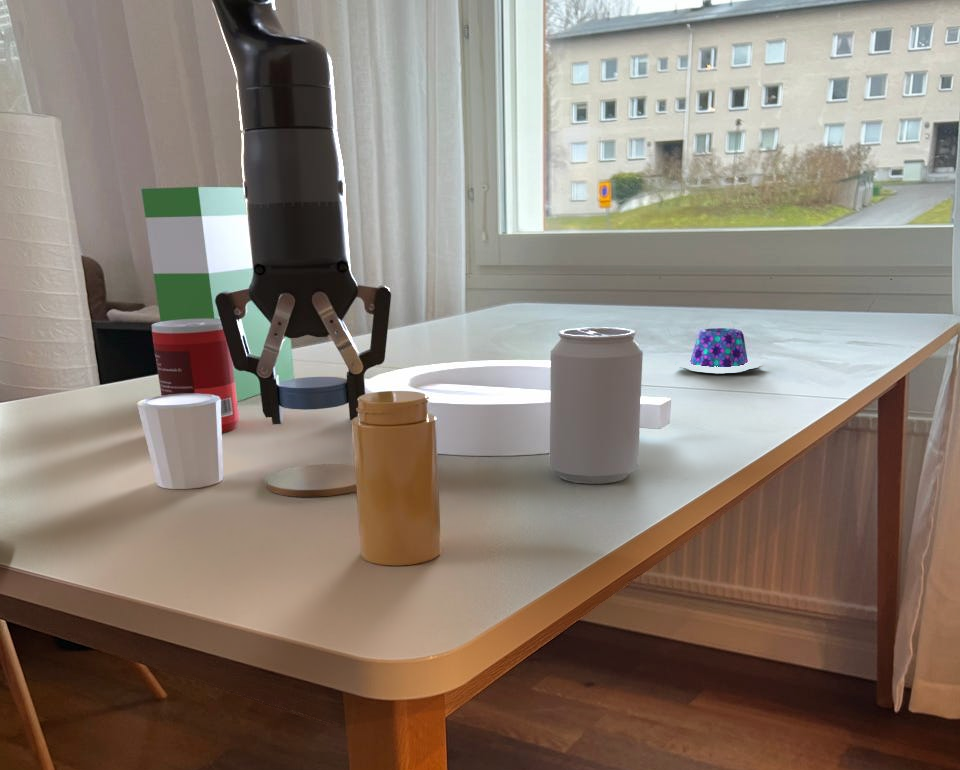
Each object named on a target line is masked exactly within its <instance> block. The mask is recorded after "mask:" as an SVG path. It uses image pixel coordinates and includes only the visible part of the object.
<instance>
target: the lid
mask: <svg viewBox="0 0 960 770" xmlns="http://www.w3.org/2000/svg"><path fill="white" fill-rule="evenodd" d="M277 387H278V396H279V405H280V406H281V407H282V409H290V410H324V409H330V408H336V407H341V406H342V407H343V406H344V405H347V404H349V401H348V388H347V378H344V377H339V376H338V377H337V376H306V377H296V378H294V379H289V380H285V381H281V382H279V383H278V384H277Z"/></svg>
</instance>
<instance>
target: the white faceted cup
mask: <svg viewBox="0 0 960 770" xmlns="http://www.w3.org/2000/svg"><path fill="white" fill-rule="evenodd" d="M136 405H137V410H138V413H139V418H140V422H141V426H142V429H143V434H144V438H145V441H146V445H147V449H148V455H149V458H150V461H151V465H152V470H153V474H154V477H155V482H156V485H157V487H160V488H162V489H169V490H189V489H200V488H206V487H210V486H212V485H216V484H219V483H220V482H221V481H223V480H224V463H223V462H224V461H223V460H224V459H223V458H224V457H223V433H222V426H221V399H220V397H219V396H215V395H210V394H196V393H191V394H171V395H163V396H161V395H157V396H153V397H147V398H144V399H142V400H140V401H138V402H136Z"/></svg>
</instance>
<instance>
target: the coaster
mask: <svg viewBox="0 0 960 770" xmlns="http://www.w3.org/2000/svg"><path fill="white" fill-rule="evenodd" d="M265 485H266V489H267V490H268V491H269V492H270V493H273V494H277V495H281V496H287V497H294V498H295V497H296V498H318V497H319V498H322V497H332V496H339V495H344V494H350V493H354V492H356V480H355V466H354V464H347V463H315V464H306V465H305V464H304V465H298V466H292V467H288V468H284V469H281V470H278V471H275V472H273V473H271V474H269V475H268V476H267V477H266V478H265Z"/></svg>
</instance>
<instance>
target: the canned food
mask: <svg viewBox="0 0 960 770" xmlns="http://www.w3.org/2000/svg"><path fill="white" fill-rule="evenodd" d="M151 335H152V343H153V349H154V351H153V352H154V356H155V357H154V358H155V363H156V368H157V369H156V370H157V377H158V383H159V389H160V396H163V395H171V394H191V393H196V394H210V395H215V396H219V397H220V399H221V426H222V434H224V433H227V432H230V431H233V430H236V429H237V427H238V426H239V421H240V415H239V414H240V413H239V406H238V402H237V396H236V388H235V379H234V370H233V362H232V358H231V355H230V352H229V348H228V345H227V341H226V338H225V334H224V331H223V327H222V324H221V320H220V319H181V320H170V321H163V322H161V321H157V322H154V323H152V324H151Z"/></svg>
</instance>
